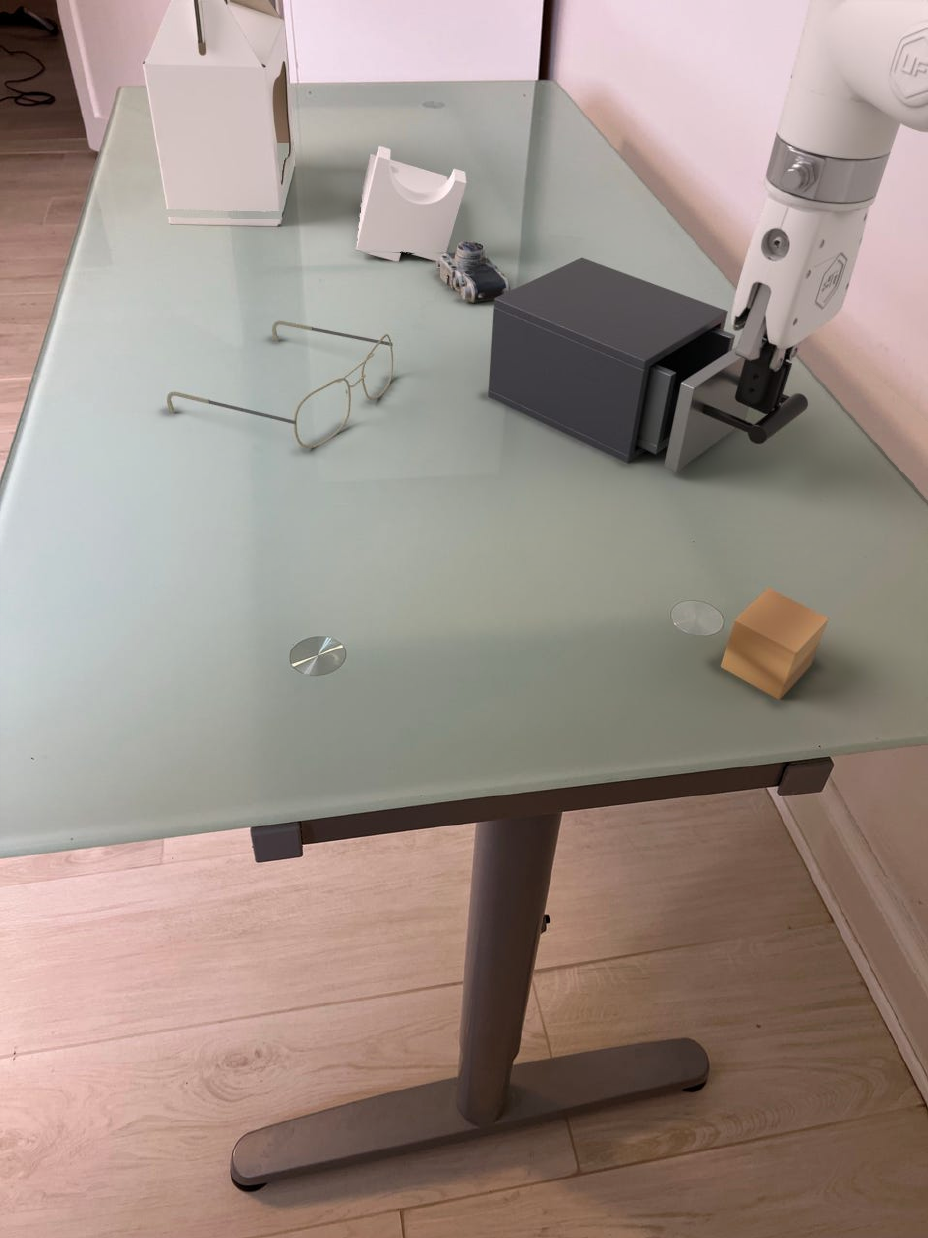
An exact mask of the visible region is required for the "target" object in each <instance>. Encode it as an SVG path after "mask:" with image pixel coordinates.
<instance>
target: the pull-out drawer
mask: <svg viewBox="0 0 928 1238" xmlns="http://www.w3.org/2000/svg"><path fill="white" fill-rule="evenodd" d="M735 338H736V334H735V333H731V332H729V331H726V330H724V331H723V330H721V329H718V328H716V327H713V328H711V329H710V330H708V331H706V332H705V333H703V334H701V335H700V336H698V337H697V338H695V339H693V340H692V341H690V342H688V343H687V344H685V345H684V346H682V347H680V348H679V349H677V350H675V351H674V352H672V353H670V354H669V355H667V356H666V357H664V358H662V359H661V360H659V361H657V362H656V363H654V364H653V365H651V366H649V372H648V377H647V383H646V388H645V394H644V400H643V405H642V411H641V416H640V422H639V428H638V433H637V439H636V444H635V445H637V446H639V447H641V448H643V449H645V450H646V451H648V452H650V453H651V454H654V455H657V454H658V453H660V452H662V451H663V450H664V449H665V448H667V450H666V455H665V459H664V464H663V468H666V469H667V470H669V471H671V472H674V473H677V472H679V471H680V470H681V469H683V468H684V467H686V466H687V465H688V464H689V463H691V462H693V460H695V459H696V458H698V456H700V455H702V454H703V453H704V452H705V451H707V450H709V449H710V448H711V447H712V446H715V444H716V443H718V442H719V441H720V440H722V439H723V438H725V437H726V436H727V435H728V434H730V433H731V432H733V431H734V430H736V429H738V430H740V431H743V432H745V433H747V436H748V438H749V440H750V441H751V442H752V443H753V444H756V445H762V444H764V443H766V442H767V441H768V440H769V439H770V438H772V437H773V436H774V435H775V434H777V433H778V432H779V431H780V430H782V429H783V428H784V427H786V426H787V425H789V423H791V422H792V421H793V420H795V419H796V418H797V417H798V416H800V415H801V414H802V413H803V412H805V411H806V410H808V409H807V408H808V406H809V401H808V398H807V397H806V396H805V395H804V394H802V393H799V392H798V393H794V394H792V395H791V396H790V395H787V394H784V393H783V395H782V398H781V401H780V404H779V406H778V407H776V408H775V409H773V410H772V411H771V412H770V413H768V414H765V415H764V416H763V417H761V418H760V419H759V420H757V421H756V422H755V423H752V422H749V421H747V416H748V413H749V408H750V407H748V406H746V405H744V404H741V403H739V402H737V401H736V400H735V394H736V390H737V387H738V383H739V379H740V376H741V372H742V368H743V365H744V361H745V359H744V358H742V357H740V356H738V355H736V354H735V351H736V348H737V346H735V347H734V342H735ZM733 347H734V348H733Z"/></svg>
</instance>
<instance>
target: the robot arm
mask: <svg viewBox="0 0 928 1238" xmlns="http://www.w3.org/2000/svg"><path fill="white" fill-rule="evenodd" d="M784 97H785V98H784V102H783V105H782V110H781V114H780V117H779V121H778V125H777V128H776V129H777V130H776V133H775V136H774V140H773V145H772V148H771V152H770V157H769V159H768V160H769V161H768V165H767V169H766V173H765V177H764V180H763V186H764V188H765V190H767V191H768V193H767V196H766V198H765V201H764V203H763V205H762V209H761V210H760V211H761V212H760V213H759V217H758V220H757V223H756V225H755V229H754V231H753V234H752V238H751V240H750V243H749V246H748V250H747V253H746V255H745V259H744V262H743V266H742V268H741V272H740V276H739V280H738V283H737V287H736V290H735V294H734V299H733V304H732V308H731V313H730V326H731V329H732V330H734V331H736V332H738V331H741V334H740V336H739V340H738V342H737V345H736V347H737V348H736V351H735V354H736V355H738V356H740V357H742V358H744V359H745V361H744V365H743V368H742V372H741V376H740V379H739V383H738V387H737V390H736V394H735V400H736V401H737V402H739V403H741V404H744V405H746V406H748V407H749V408H750V409H753V410H755V411H757V412H759V413H761V414H764V415H767V414H768V413H770V412H771V411H772V410H774V409H775V408H776V407H778V406H779V405H780V404H781V403H780V401H781V398H782V395H783V394H784V391H785V388H786V385H787V382H788V378H789V375H790V372H791V369H792V366H793V363H792V361H794V358H796V356H797V354H798V351H799V350H800V346H801V344H802V341H803V340H805V339H806V338H808V337H809V336H810V335H812V334H813V333H815V332H816V331H817V330H819V329H820V328H822V327H823V326H824V325H826V324H827V323H829V322H830V321H831V320H833V318H835V317H836V316H837V315H838V314H839V312H840V311H841V309H842V308H843V306H844V303H845V299H846V296H847V293H848V289H849V286H850V283H851V280H852V276H853V274H854V273H853V272H854V270H855V266H856V262H857V259H858V255H859V251H860V248H861V244H862V240H863V236H864V234H865V229H866V225H867V221H868V216H869V211H870V207H871V206H872V205H873V204H874V203H875V201H876V198H877V194H878V192H879V188H880V186H881V184H882V183H881V182H882V180H883V177H884V175H885V171H886V168H887V165H888V162H889V158H890V156H891V153H892V150H893V147H894V144H895V140H896V138H897V134H898V132H899V129H900V126H901V125H902V126H905V127H906V128H909V129H911V130H914V131H917V132H922V133H928V0H809V4H808V8H807V11H806V15H805V19H804V22H803V27H802V31H801V36H800V39H799V43H798V47H797V51H796V55H795V59H794V62H793V66H792V70H791V74H790V78H789V82H788V86H787V90H786V94H785V96H784Z"/></svg>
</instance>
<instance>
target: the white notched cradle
mask: <svg viewBox="0 0 928 1238" xmlns="http://www.w3.org/2000/svg"><path fill="white" fill-rule="evenodd" d="M391 151H392V150H391V148H387V147H385V146H380V145H378V148H377V152H376V154H373V153H370V155H369V158H368V159H369V160H368V164H367V169H366V173H365V177H364V183H363V186H362V190H363V194H362V193H361V196H362V203H361V202H360V207H361V213H360V212H359V217H360V222H359V221H358V228H359V231H358V230H357V238H358V241H357V240H356V249H357V250H377V251H378V250H379V251H390V252H401V253H366V254H367V255H372V256H375V257H377V258H378V257H379V258H381V259H386V260H388V261H393V262H399V261H400V259H401V254H402V252H403V253H406V252H419V253H431V252H432V253H433V252H446V253H447V251H448V247H449V244H450V240H451V238H452V234H453V230H454V227H455V223H456V220H457V217H458V214H459V210H460V207H461V203H462V200H463V197H464V194H465V189H466V186H467V175H466V171H463V170H460V169H457V168H453V169H452V172H451V174H450V176H449V177H448V176H447V175H443V174H440V173H436V172H433V171H429V170H426V169H423V168H419V167H416V166H414V165H410V164H406V163H403V162H400V161H397V160H394V159H391ZM412 255H413V256H417V257H421V258H424V259H428V260H430V261H434V262H436V261H438V260H439V258H440V257H441V256H442V254H412Z"/></svg>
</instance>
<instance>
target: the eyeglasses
mask: <svg viewBox="0 0 928 1238" xmlns="http://www.w3.org/2000/svg"><path fill="white" fill-rule="evenodd" d="M279 325H282V326H286V327H291V328H296V329H302V330H306V331H311V332H312V331H313V332H318V333H324V334H328V335H332V336H337V337H343V338H348V339H353V340H358V341H363V342H369V343H372V344H373V343H374V344H375V345H374V346H373V348H372V349H371V350H370V351H369V353H368V354H367V356H366V357H365V359H364V361H362V362H361V363H360V364H358V366H356V367H355V368H353V369H352V370H351V371H350V372H349V373H347V374H346V375H345V376H343V377H342V378H341V377H340V378H337V379H334V380H332V381H329V382H328V383H326V384H323V386H320V387H318V388H316V389H315V390H313V391H312V392H310V393H308V394H307V395H306V396H305V397H304V398H303V399H302V400H301V401H299V404H298V405H297V407H296V410H295V413H294V417H293V419H289V418H285V417H281V416H277V415H273V414H269V413H264V412H261V411H257V410H252V409H248V408H244V407H239V406H235V405H231V404H227V403H222V402H218V401H215V400H210V399H208V398H204V397H200V396H196V395H193V394H187V393H183V392H178V391H170V392H169V393H168V394H167V398H166V404H167V409H168V412H169V413H170V414H175V413H176V410H175V407H174V404H173V401H172V399H173V397H179V398H183V399H187V400H191V401H195V402H200V403H204V404H207V405H213V406H217V407H221V408H225V409H230V410H234V411H238V412H243V413H246V414H250V415H255V416H259V417H263V418H268V419H270V420H275V421H279V422H284V423H288V424H292V425H293V429H294V436H295V439H296V441H297V443H298V444H299V445H300V446H302V448H305V449H315V448H317V447H319V446H321V445H323V444H325V443H327V442H328V441H329V440H332V439H333V438H334V437H336V436H337V435H338V434H339V433H340V432H341V431H342V429H343V428H344V427H345V425H346V424H347V421H348V420H349V417H350V413H351V401H352V400H351V399H352V398H351V397H352V395H351V394H352V393H351V388H354V387H356V386H357V384H359V383H361V384H362V387H363V391H364V394H365V396H366V398H367V399H368V400H371V401H374V400H377V399H379V398H381V397H382V396H383V395H384V394H385V392H386V391H387V390H388V388H389V386H390V384H391V382H392V377H393V372H394V352H393V351H394V350H393V342H392V340H391V337H390V335H389V334H388V333H385V334H383V335H382V337H381V338H380V339H374V338H371V337H370V338H369V337H366V336H360V335H354V334H349V333H344V332H340V331H335V330H328V329H323V328H319V327H313V326H311V325H306V324H301V323H296V322H290V321H285V320H276V321H275V322H274V323H273V324H272V327H271V333H272V340H273V341H275V342H279V335H278V332H277V327H278V326H279ZM386 337H387V339H388V341H384V339H385V338H386ZM379 345H384V346H389V349H390V357H391V358H390V360H391V361H390V362H391V363H390V374H389V379H388V382H387V385H386V387H384V389H383V391H382V392H381V393H380V394H379V395H377V396H374V397H371V396H370V395H369V393H368V391H367V388H366V384H365V378H366V377H367V375H366V374H364V372H365V367H366V364H367V362H368V361H369V360H370V359H371V358H372V357H374V356H375V353H374V351H375V350H377V348H378V346H379ZM360 367H361V372H360V373H361V374H360V375H361V377H358V380H357V381H356V382H355V383H353V384H352V385H350V382H349V381H348V379H346V378H347V377H349V376H350V375H351V374H353V373H354V372H355V371H356V370H358V369H360ZM343 381H344V382H345V384H346V387H347V388H345V394H347V397H348V399H347V400H348V401H347V402H348V404H347V413H346V416H345V419H344V420H343V422H342V424H341V425H340V427H339V428H338V430H336V431H335V432H334V433H333V434H331V436H329V437H328V438H325V440H323V441H321V442H320V443H318V444H314V445H306V444H304V443H303V442H302V441H301V440H300V437H299V434H298V424H297V423H298V421H297V420H298V414H299V411H300V409H301V407H302V405H303V404H304V402H306V401H307V400H308V399H309V398H310V397H311V396H313V395H314V394H316V393H318V392H320V391H322V390H323V389H326V388H327V387H329V386H331V385H333V384H335V383H338V384H339V383H341V382H343Z"/></svg>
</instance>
